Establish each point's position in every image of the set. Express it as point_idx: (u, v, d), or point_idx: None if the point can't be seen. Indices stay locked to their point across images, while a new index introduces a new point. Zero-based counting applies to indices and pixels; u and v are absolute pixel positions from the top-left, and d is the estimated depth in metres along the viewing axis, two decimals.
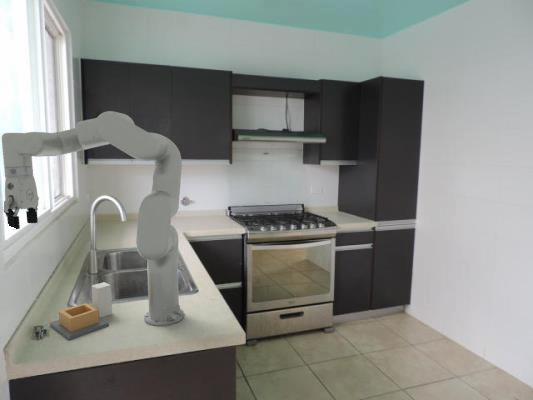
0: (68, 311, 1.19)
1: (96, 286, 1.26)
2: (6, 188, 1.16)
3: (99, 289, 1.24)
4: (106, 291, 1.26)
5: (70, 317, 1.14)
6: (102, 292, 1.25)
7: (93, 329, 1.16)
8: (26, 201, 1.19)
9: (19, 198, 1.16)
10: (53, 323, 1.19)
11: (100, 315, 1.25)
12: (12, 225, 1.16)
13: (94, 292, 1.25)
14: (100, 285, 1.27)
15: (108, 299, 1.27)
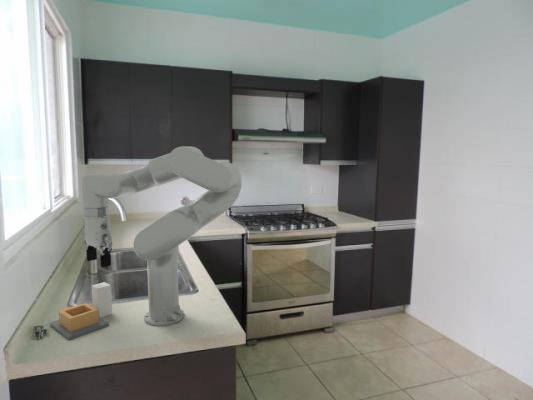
0: (68, 311, 1.19)
1: (96, 286, 1.26)
2: (99, 228, 1.20)
3: (99, 289, 1.24)
4: (106, 291, 1.26)
5: (70, 317, 1.14)
6: (102, 292, 1.25)
7: (93, 329, 1.16)
8: None
9: (111, 236, 1.23)
10: (53, 323, 1.19)
11: (100, 315, 1.25)
12: (107, 262, 1.22)
13: (94, 292, 1.25)
14: (100, 285, 1.27)
15: (108, 299, 1.27)
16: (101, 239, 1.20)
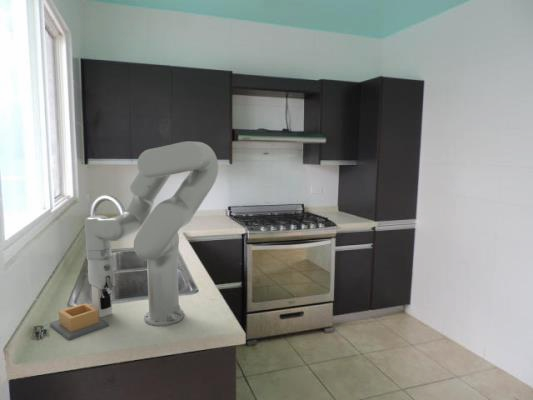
0: (68, 311, 1.19)
1: None
2: (102, 270, 1.22)
3: (99, 289, 1.24)
4: None
5: (70, 317, 1.14)
6: None
7: (93, 329, 1.16)
8: None
9: (114, 276, 1.25)
10: (53, 323, 1.19)
11: (100, 315, 1.25)
12: (107, 305, 1.25)
13: (94, 292, 1.25)
14: None
15: None
16: (104, 281, 1.22)
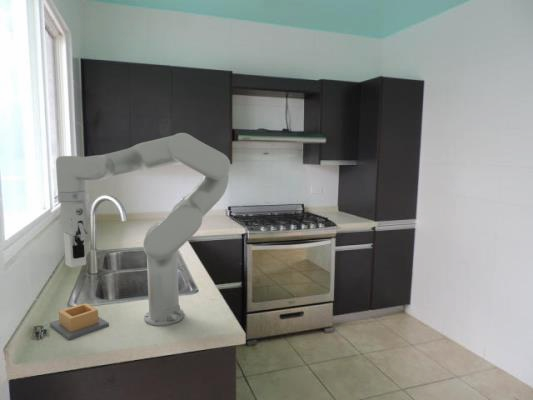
0: (68, 311, 1.19)
1: None
2: (74, 214, 1.11)
3: (71, 236, 1.13)
4: None
5: (70, 317, 1.14)
6: None
7: (93, 329, 1.16)
8: None
9: (88, 223, 1.14)
10: (53, 323, 1.19)
11: (72, 265, 1.14)
12: (80, 253, 1.15)
13: (66, 239, 1.15)
14: None
15: None
16: (76, 226, 1.11)
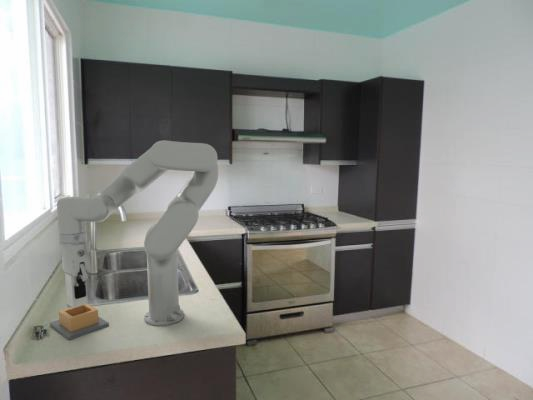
0: (68, 311, 1.19)
1: None
2: (76, 256, 1.12)
3: (73, 277, 1.14)
4: None
5: (70, 317, 1.14)
6: None
7: (93, 329, 1.16)
8: None
9: (89, 263, 1.15)
10: (53, 323, 1.19)
11: (74, 305, 1.15)
12: (82, 294, 1.16)
13: (67, 280, 1.16)
14: None
15: None
16: (78, 267, 1.13)
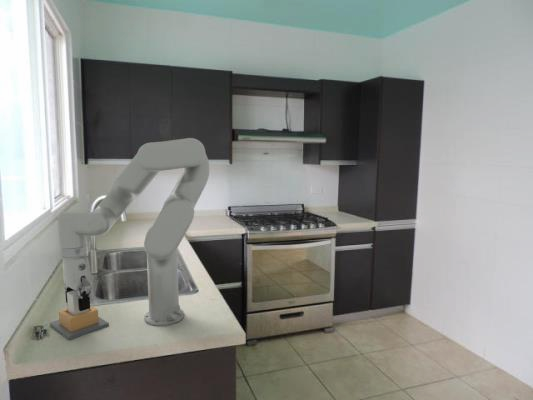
0: None
1: (71, 293, 1.17)
2: (77, 270, 1.13)
3: (74, 296, 1.15)
4: None
5: (70, 317, 1.14)
6: None
7: (93, 329, 1.16)
8: None
9: (90, 277, 1.16)
10: (53, 323, 1.19)
11: None
12: (86, 306, 1.15)
13: (69, 299, 1.17)
14: (76, 291, 1.18)
15: None
16: (79, 281, 1.13)
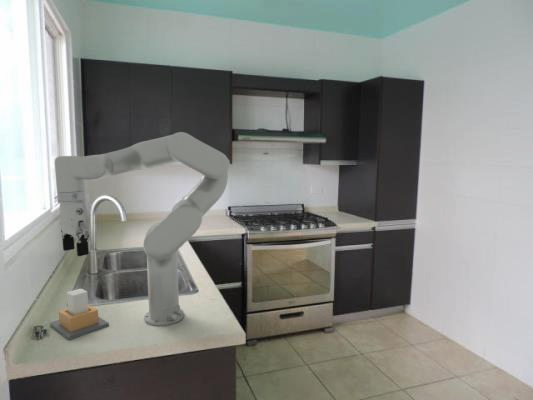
0: None
1: (71, 293, 1.17)
2: (75, 214, 1.11)
3: (74, 296, 1.15)
4: (82, 298, 1.17)
5: (70, 317, 1.14)
6: (78, 299, 1.16)
7: (93, 329, 1.16)
8: None
9: (88, 222, 1.14)
10: (53, 323, 1.19)
11: None
12: (84, 251, 1.13)
13: (69, 299, 1.17)
14: (76, 291, 1.18)
15: (85, 307, 1.18)
16: (77, 226, 1.11)
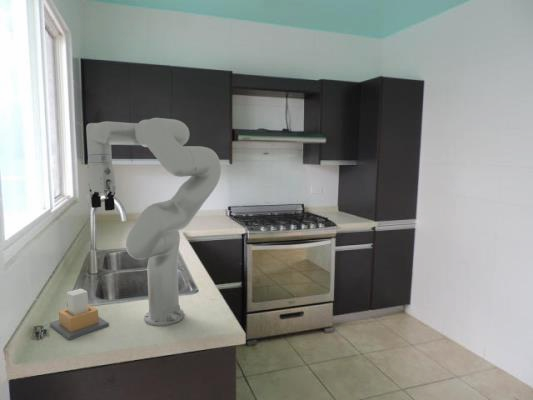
0: None
1: (71, 293, 1.17)
2: (103, 173, 1.27)
3: (74, 296, 1.15)
4: (82, 298, 1.17)
5: (70, 317, 1.14)
6: (78, 299, 1.16)
7: (93, 329, 1.16)
8: None
9: (114, 182, 1.31)
10: (53, 323, 1.19)
11: None
12: (111, 206, 1.29)
13: (69, 299, 1.17)
14: (76, 291, 1.18)
15: (85, 307, 1.18)
16: (105, 183, 1.28)
